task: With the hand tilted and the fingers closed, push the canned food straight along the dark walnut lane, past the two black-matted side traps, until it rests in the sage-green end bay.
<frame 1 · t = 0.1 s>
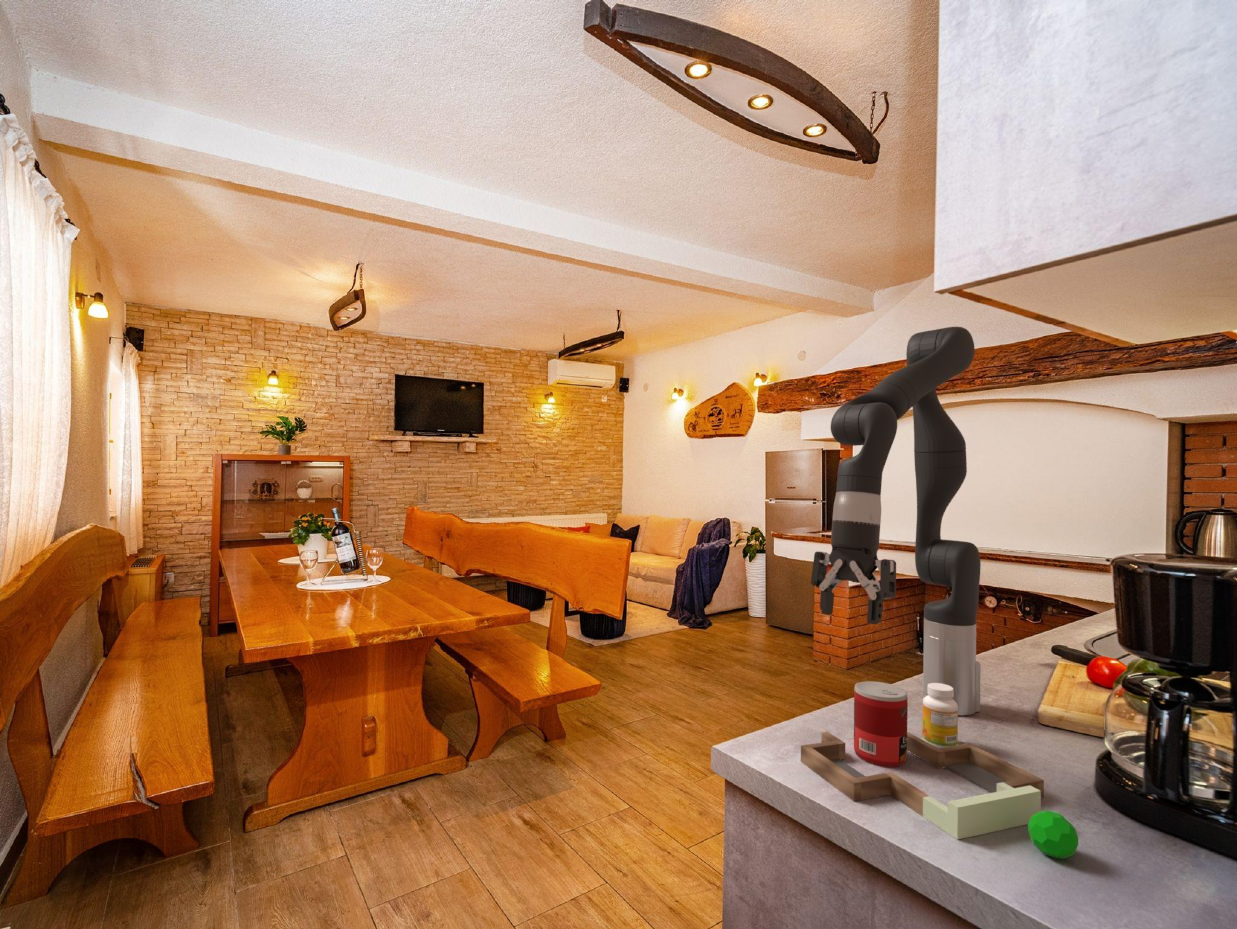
hand: (848, 618, 101), 22 cm above the counter, tool pointing down, fingers open, 8 cm apart
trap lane: (918, 780, 92), on the counter
supplement bottle: (939, 744, 105), on the counter
canned food: (879, 757, 99), on the counter
polyhedron: (1052, 855, 74), on the counter
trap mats: (918, 780, 92), on the counter
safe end: (981, 803, 82), on the counter
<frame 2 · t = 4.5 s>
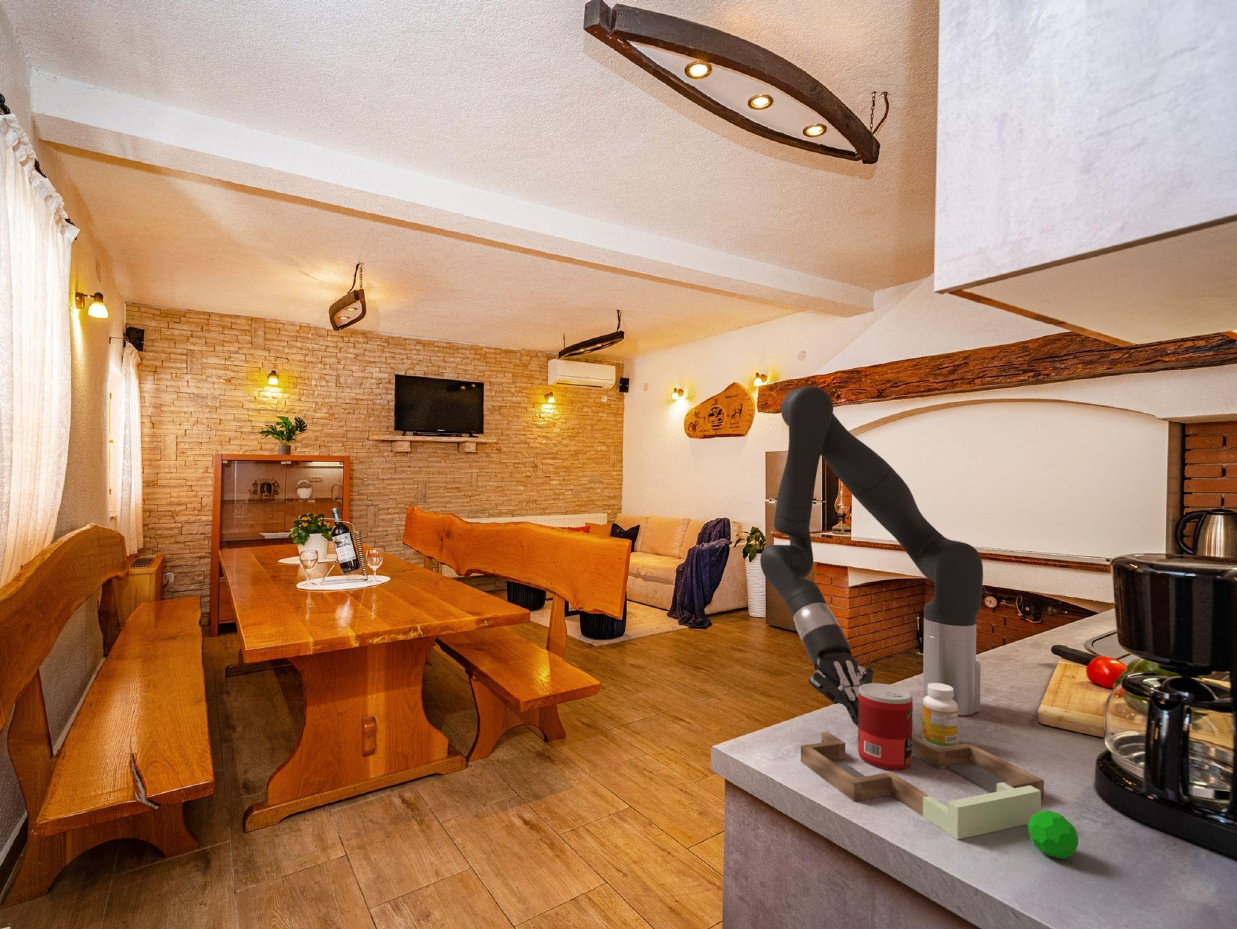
hand: (864, 724, 103), 4 cm above the counter, tool tilted 45°, fingers closed
canned food: (884, 760, 98), on the counter, touching gripper
everything else where it was.
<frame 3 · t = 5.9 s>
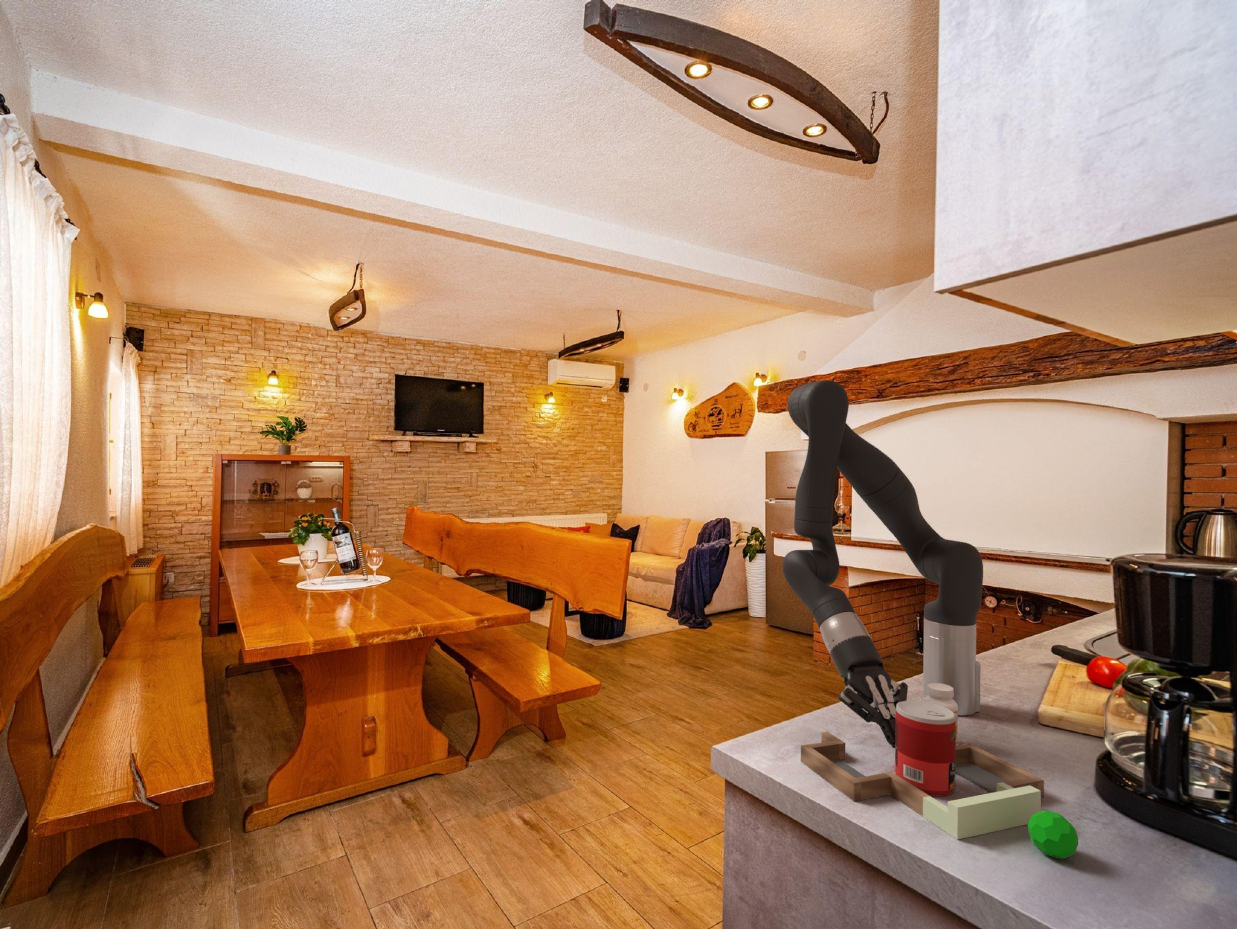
hand: (900, 745, 95), 4 cm above the counter, tool tilted 45°, fingers closed
canned food: (924, 785, 91), on the counter, touching gripper
everything else where it was.
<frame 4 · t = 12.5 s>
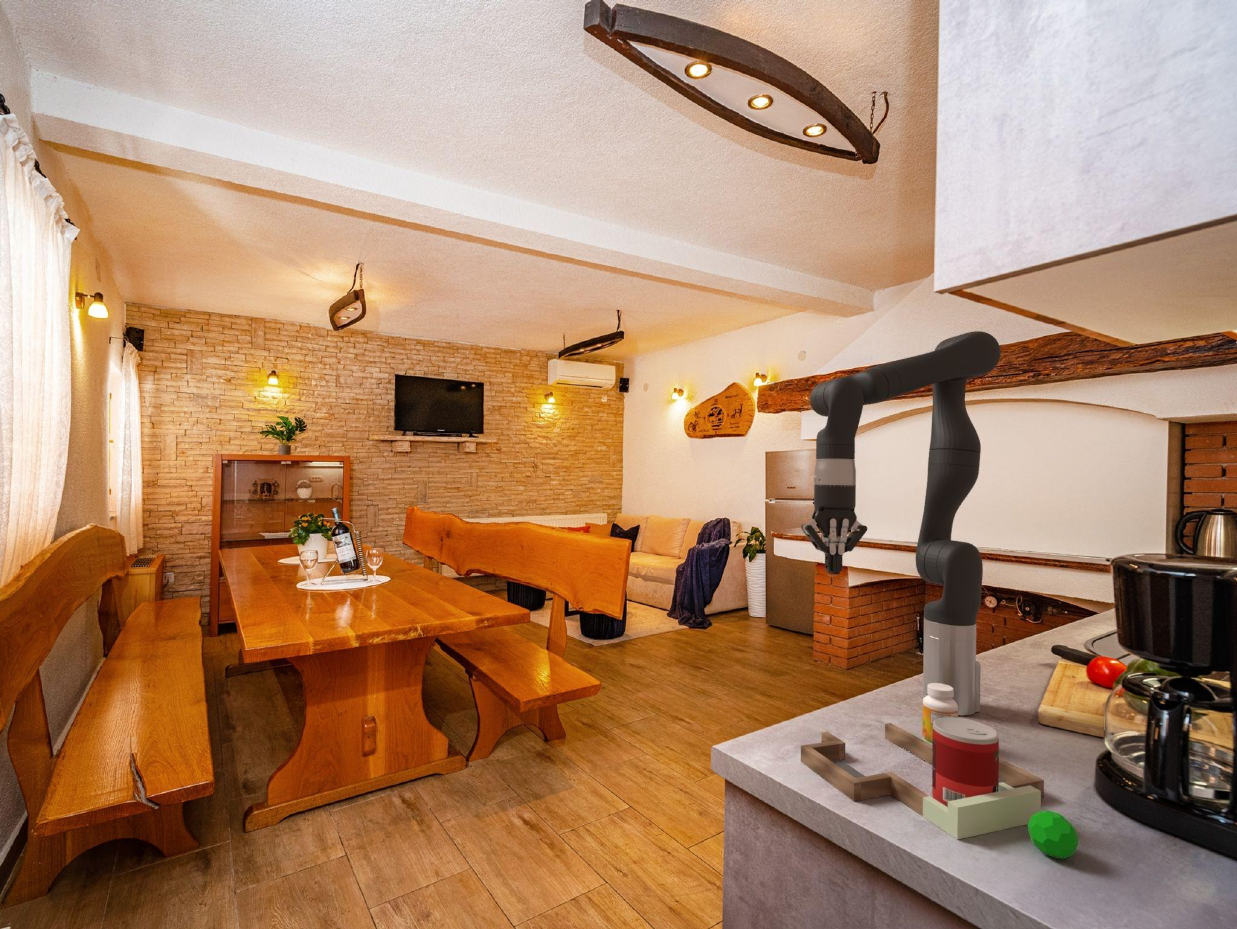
hand: (833, 573, 116), 27 cm above the counter, tool pointing down, fingers closed
canned food: (964, 809, 84), on the counter
everything else where it was.
at the end: canned food inside the target area (0.6 cm from its centre), on the counter; canned food tilted 0° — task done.
